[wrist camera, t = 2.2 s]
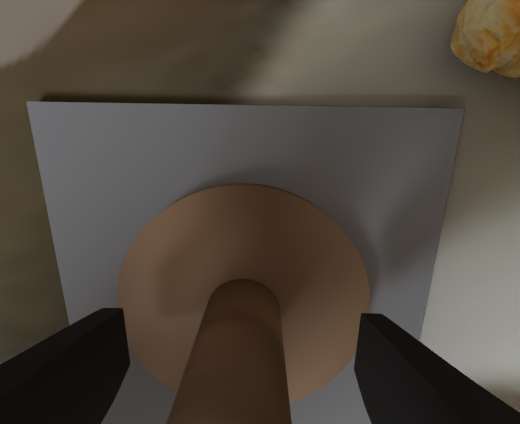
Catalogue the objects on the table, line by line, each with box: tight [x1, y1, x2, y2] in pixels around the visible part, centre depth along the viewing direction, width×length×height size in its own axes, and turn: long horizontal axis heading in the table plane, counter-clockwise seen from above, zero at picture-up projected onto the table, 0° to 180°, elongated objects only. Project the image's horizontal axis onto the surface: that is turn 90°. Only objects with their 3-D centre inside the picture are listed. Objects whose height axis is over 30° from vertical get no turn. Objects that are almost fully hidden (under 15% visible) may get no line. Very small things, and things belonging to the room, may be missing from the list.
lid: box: [117, 183, 371, 424], centre depth 8 cm, size 9×9×5 cm
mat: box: [26, 102, 465, 424], centre depth 10 cm, size 14×14×1 cm
